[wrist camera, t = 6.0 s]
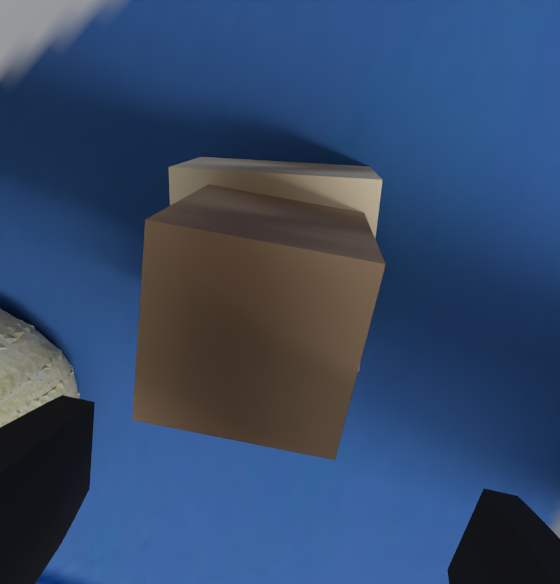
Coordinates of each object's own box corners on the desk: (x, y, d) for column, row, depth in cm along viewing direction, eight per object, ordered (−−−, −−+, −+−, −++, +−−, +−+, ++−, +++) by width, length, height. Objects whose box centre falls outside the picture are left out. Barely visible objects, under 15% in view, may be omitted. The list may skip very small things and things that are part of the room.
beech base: (369, 165, 17) (382, 179, 13) (351, 320, 19) (358, 371, 15) (202, 156, 17) (168, 167, 13) (203, 308, 19) (174, 355, 15)
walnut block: (364, 213, 13) (385, 264, 9) (331, 352, 15) (335, 460, 10) (207, 184, 13) (145, 219, 9) (192, 325, 15) (132, 419, 10)
